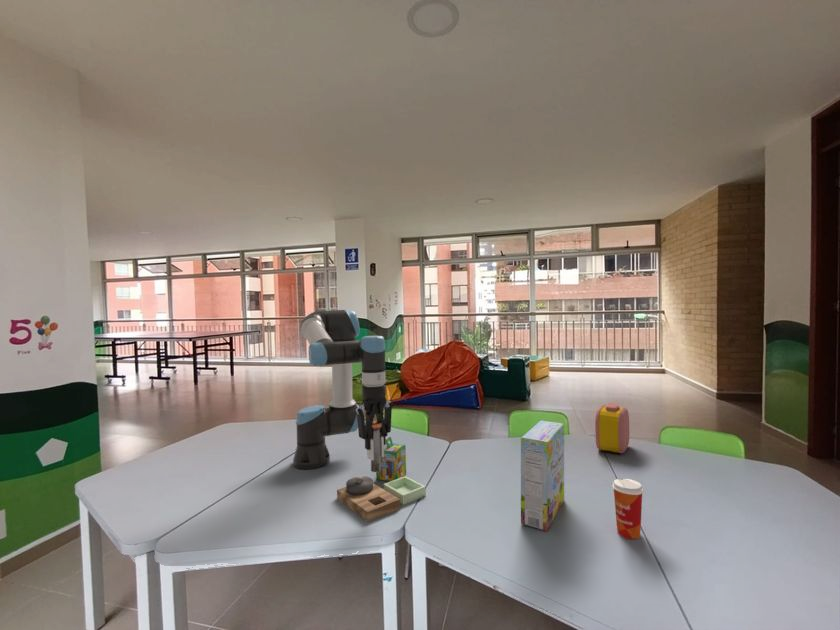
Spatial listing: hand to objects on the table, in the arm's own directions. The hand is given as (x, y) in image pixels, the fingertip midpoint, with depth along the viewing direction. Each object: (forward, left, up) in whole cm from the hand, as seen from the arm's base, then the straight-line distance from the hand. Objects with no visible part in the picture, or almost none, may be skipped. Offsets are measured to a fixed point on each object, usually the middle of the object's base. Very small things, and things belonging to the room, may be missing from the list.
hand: (375, 457), depth 126 cm
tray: (-3, +13, -17) cm, 21 cm away
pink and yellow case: (+25, +107, -17) cm, 111 cm away
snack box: (+36, +38, -17) cm, 55 cm away
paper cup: (+58, +45, -17) cm, 76 cm away
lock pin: (0, 0, -4) cm, 4 cm away
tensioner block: (-6, 0, -17) cm, 18 cm away
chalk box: (-18, +18, -17) cm, 30 cm away
